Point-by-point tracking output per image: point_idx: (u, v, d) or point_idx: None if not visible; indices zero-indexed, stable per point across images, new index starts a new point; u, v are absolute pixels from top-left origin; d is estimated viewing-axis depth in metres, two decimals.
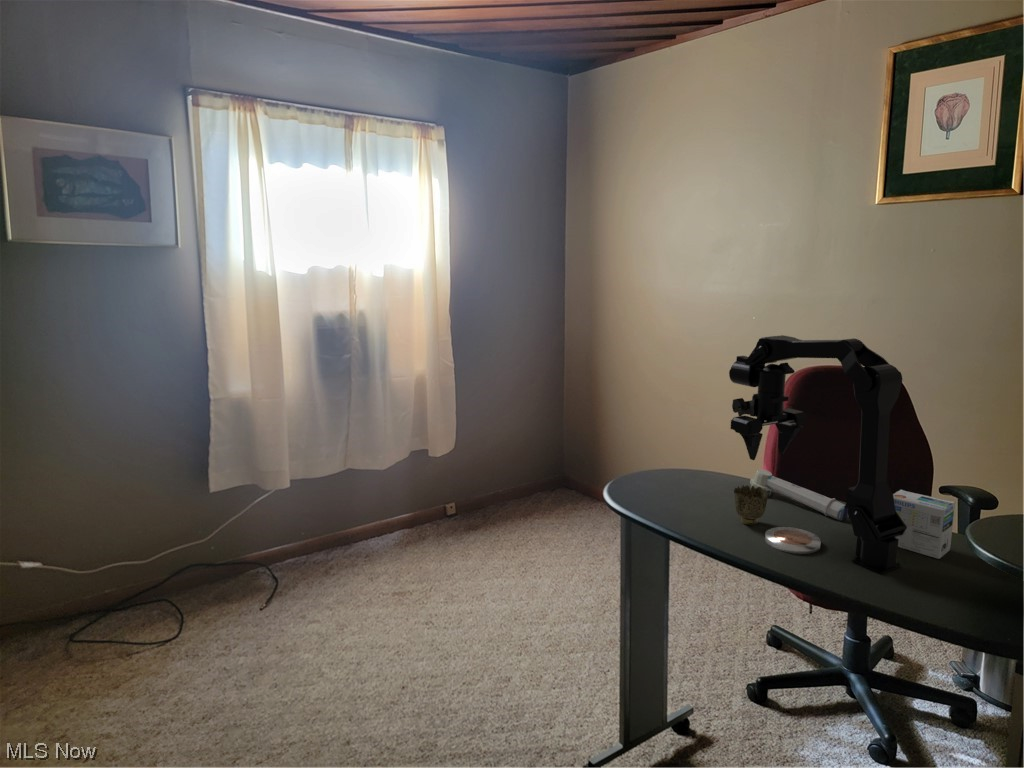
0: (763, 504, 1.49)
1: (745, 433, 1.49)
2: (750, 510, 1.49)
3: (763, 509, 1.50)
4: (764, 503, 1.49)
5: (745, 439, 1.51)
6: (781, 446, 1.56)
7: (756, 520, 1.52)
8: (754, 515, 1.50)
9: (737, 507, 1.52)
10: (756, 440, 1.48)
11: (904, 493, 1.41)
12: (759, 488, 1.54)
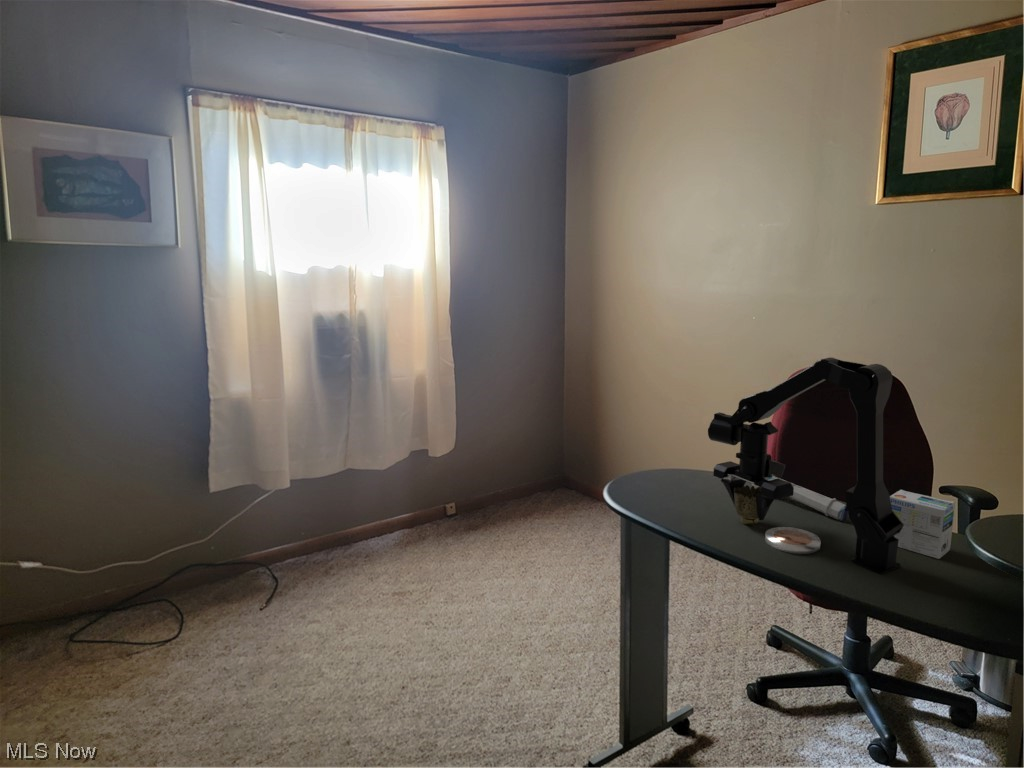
0: None
1: None
2: (750, 509, 1.49)
3: None
4: None
5: None
6: None
7: (756, 520, 1.52)
8: (754, 515, 1.50)
9: (737, 507, 1.52)
10: (726, 487, 1.55)
11: (904, 493, 1.41)
12: (759, 488, 1.54)
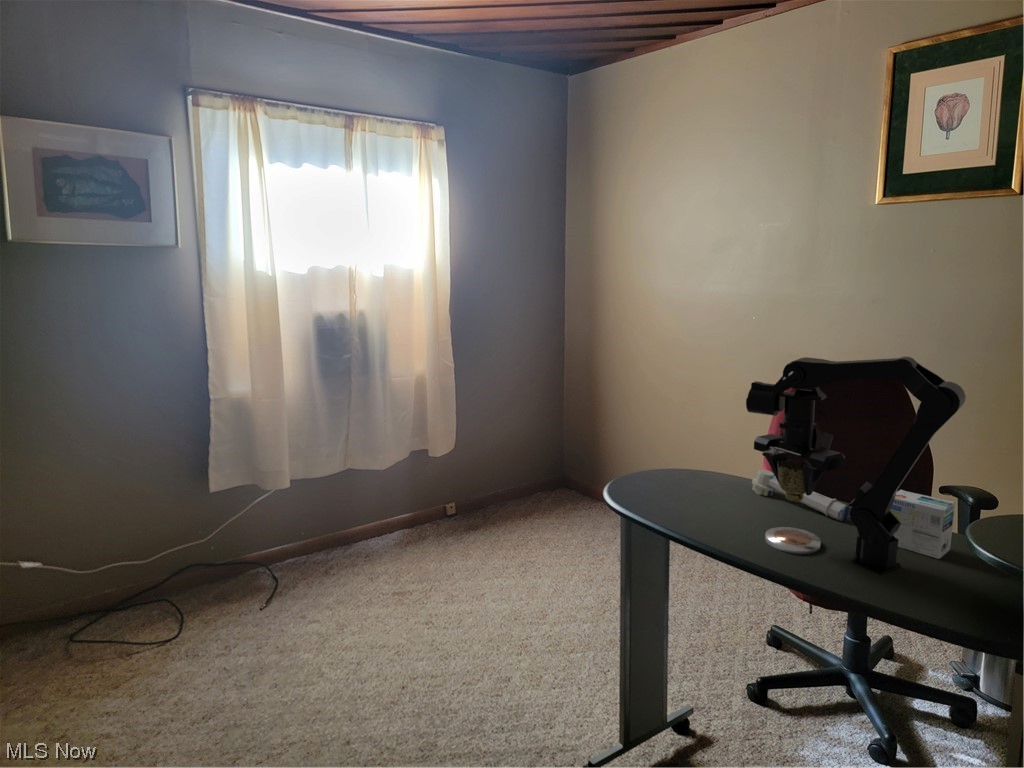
0: None
1: None
2: (796, 484, 1.37)
3: None
4: None
5: None
6: None
7: (802, 496, 1.40)
8: (800, 490, 1.38)
9: (781, 482, 1.40)
10: (768, 461, 1.43)
11: (904, 493, 1.41)
12: (804, 461, 1.42)
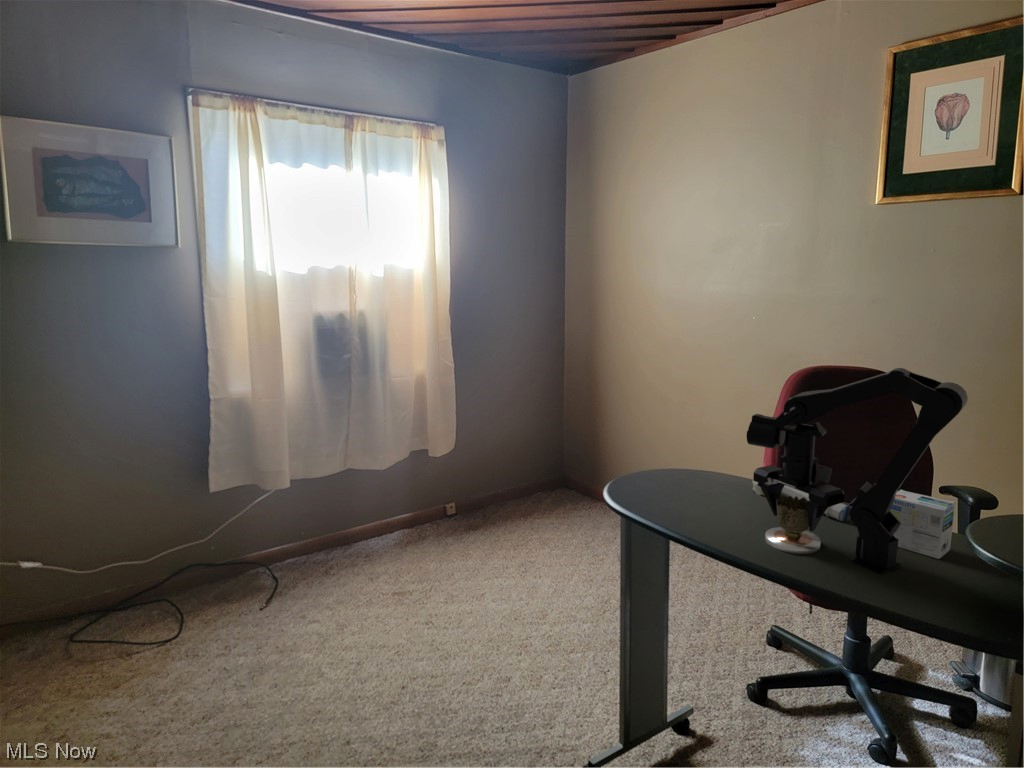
0: None
1: None
2: (795, 523, 1.38)
3: None
4: None
5: None
6: None
7: (801, 534, 1.41)
8: (799, 528, 1.39)
9: (780, 520, 1.41)
10: (763, 491, 1.45)
11: (904, 493, 1.41)
12: (803, 499, 1.43)
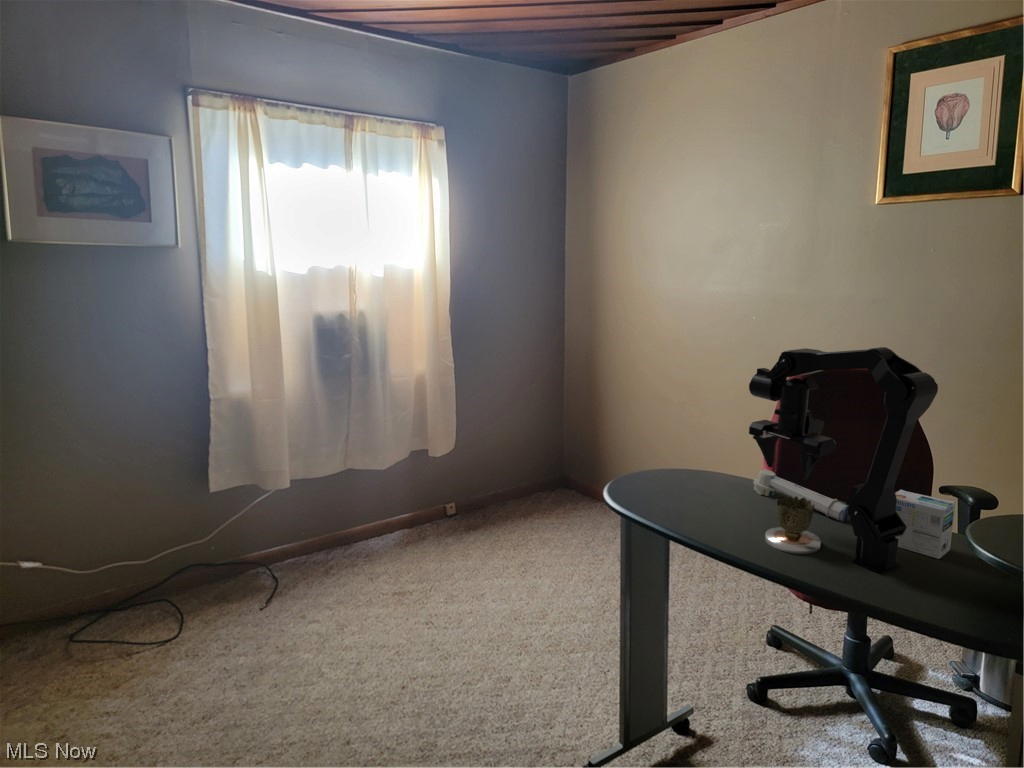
0: (809, 517, 1.38)
1: None
2: (795, 522, 1.38)
3: (809, 522, 1.39)
4: (810, 515, 1.39)
5: None
6: None
7: (801, 534, 1.41)
8: (799, 528, 1.39)
9: (780, 520, 1.41)
10: (758, 444, 1.52)
11: (904, 493, 1.41)
12: (803, 499, 1.43)
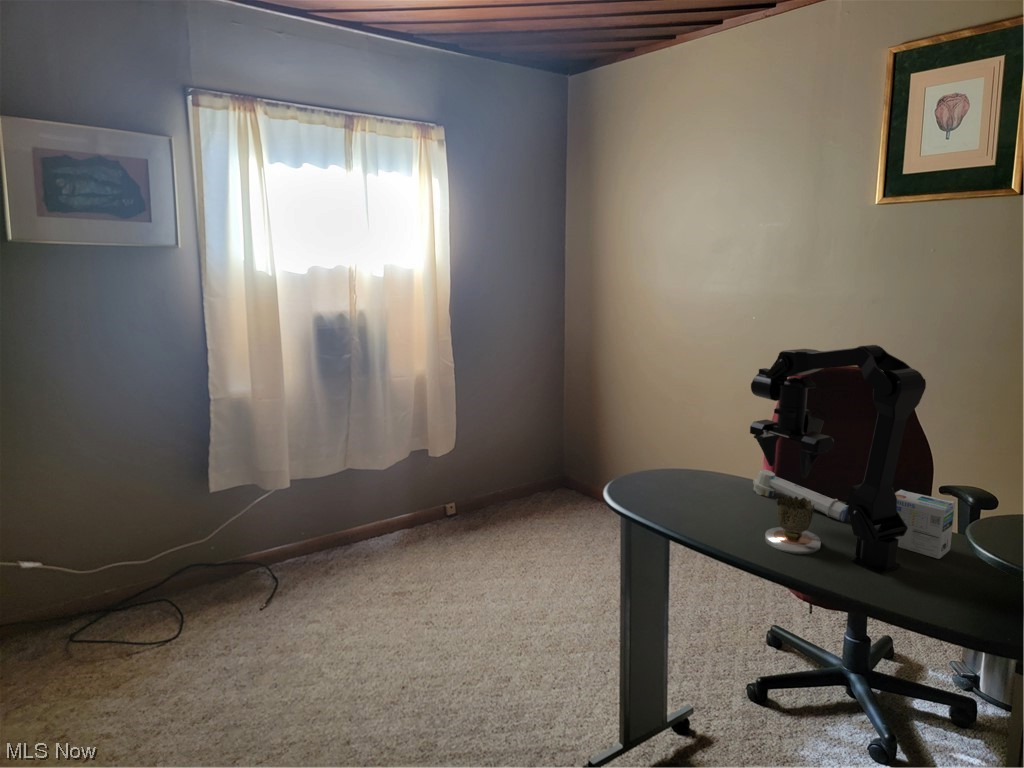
0: (809, 517, 1.38)
1: None
2: (795, 523, 1.38)
3: (809, 522, 1.39)
4: (810, 516, 1.39)
5: None
6: None
7: (801, 534, 1.41)
8: (799, 528, 1.39)
9: (780, 520, 1.41)
10: (759, 443, 1.55)
11: (904, 493, 1.41)
12: (803, 499, 1.43)
